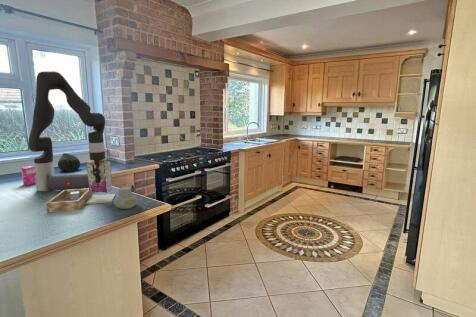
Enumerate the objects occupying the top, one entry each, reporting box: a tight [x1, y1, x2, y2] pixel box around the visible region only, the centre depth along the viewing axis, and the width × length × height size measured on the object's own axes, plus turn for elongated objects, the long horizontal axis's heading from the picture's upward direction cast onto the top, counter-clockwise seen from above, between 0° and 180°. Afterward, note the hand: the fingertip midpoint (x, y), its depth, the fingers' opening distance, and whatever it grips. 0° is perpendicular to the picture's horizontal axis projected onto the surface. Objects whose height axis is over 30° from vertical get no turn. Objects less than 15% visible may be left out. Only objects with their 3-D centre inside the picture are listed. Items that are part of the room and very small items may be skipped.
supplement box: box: [20, 165, 36, 186], centre depth 173 cm, size 6×6×12 cm
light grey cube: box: [70, 191, 80, 201], centre depth 145 cm, size 4×4×4 cm
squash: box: [57, 152, 81, 173], centre depth 212 cm, size 14×15×15 cm
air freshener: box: [113, 186, 138, 210], centre depth 134 cm, size 11×8×10 cm
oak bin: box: [45, 188, 93, 213], centre depth 139 cm, size 14×22×4 cm, turn 14°
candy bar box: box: [86, 160, 113, 194], centre depth 143 cm, size 11×5×16 cm, turn 79°
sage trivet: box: [86, 193, 116, 205], centre depth 145 cm, size 12×12×1 cm
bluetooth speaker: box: [47, 173, 89, 192], centre depth 160 cm, size 23×9×10 cm, turn 106°
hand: (99, 180), depth 144 cm, fingers closed on candy bar box, 6 cm apart
